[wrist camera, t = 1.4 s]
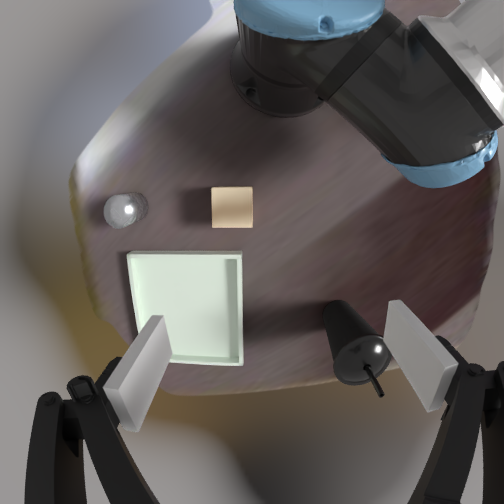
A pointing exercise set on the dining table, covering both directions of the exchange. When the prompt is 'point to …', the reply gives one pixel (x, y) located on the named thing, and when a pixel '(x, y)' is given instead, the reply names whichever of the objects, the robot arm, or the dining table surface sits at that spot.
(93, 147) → the dining table surface
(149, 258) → the tray
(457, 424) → the robot arm
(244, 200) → the beech block
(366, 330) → the drinking cup
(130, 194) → the cylinder
